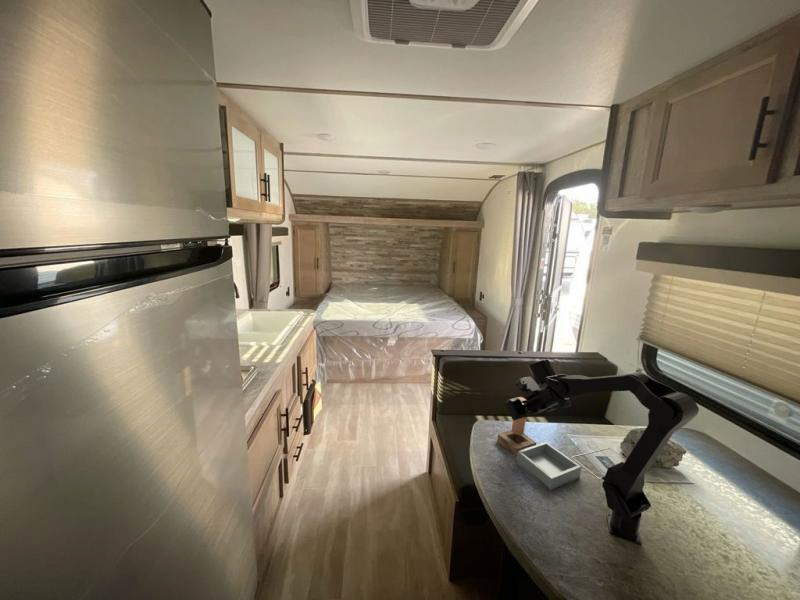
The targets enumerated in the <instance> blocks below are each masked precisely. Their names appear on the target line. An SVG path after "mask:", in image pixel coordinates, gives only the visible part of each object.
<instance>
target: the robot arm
mask: <svg viewBox="0 0 800 600" xmlns="http://www.w3.org/2000/svg"><path fill="white" fill-rule="evenodd" d="M528 369H529V371H530V373H531V375H532V376H524V377H520V379H518V380H516V381H515V382H516V383H515V387H516V388H517V390H518V391H519V392H521V393H523V394H524V395H523V398H525V399H526V400H525V401H522V402H523V404H522V403H521V401H520V399H518V398H516V397H514V398H511V399H510V398H509V399H507V400H506V401H505V405H506V406H505V407H506V408H507V411H508V413H509V415H510V417H511V419H512V421H513V420H514V421H515V420H518V419H522V418H525V417H526V418H528V415H529V414H533V415H534V414H543V413H545V412H546V410H547V412H551V411H554V410H556V409H558V405H559V406H560V408H561V409H565V408H569V407H571V406H572V403H571V400H572V399H571V398H572V397H576V396H579V395H580V396H581V395H584V394H589V393H604V392H605V393H607V392H608V393H609V392H611V393H612V392H630V393H632V395H634V397H635V398H636V399H637V400H638V401H639V402H640V404H641V405H642V406H644V407H645V408H646V409H647V410H648V414H647V421H648V424H647V426H646V427H645V428H646V429H645V431H644V432H643V434H642V435H641V437H640V439H639V440H638V442H637V443H636V445H635V446H634V448H633V450H632V451H631V453H630V454H629V456H628V458H627V457H626V458H627V459H625V461H624V462H623V461H621V462H618V463H615V464H614V465H611V466H609V467H608V468H607V469H606V473H605V475H604V476H602V477H601V478H602V479H601V480H603V481H602V486H601V487H602V488H603V491H604V494H605V495H604V496H605V499H606V505H607V508H608V509H610V510H611V514H609V513H606V520H607V525H608V530H609V533H610V535H611V536H613V537H616V538H619V539H622V540H625V541H628V542H631V543H634V544H636V545H639V546H641V545H642V546H643V541H642V538H641V534H640V531H639V529H640V525H641V520H642V513H643V512H645V511H648V510H649V509H650V508H651V507H652V503H650V501H649V499H648V498H647V496H646V494H645V492H644V491H643V490H644V487H645V484H646V482H645V475H646V474H647V472H648V471H649V469H650V468H651V466H652V463H653V462H654V461H655V459H656V458H657V456H658V455H659V453H660V452H661V450H662V449H663V448H664V446H665V445H666V443H667V442H668V440H669V439H671V437H672V436H673V434H675V433H676V432H677V431H679V430H681V429H682V428H683V427H684V426H686V425H687V424H688V423H689V422H691V421H692V420H693V419H694V418H695V417H696V416H697V415H698V414H699V410H700V409H699V406H698V404H697V402H696V401H695V400H694V398H692V397H691V396H690V395H688V394H686V393H684V392H679V391H677V390H676V389H675V388H673V387H672V386H669V385H667V384H665V383H663V382H660V381H658V380H655V379H653V378H652V377H650V376H649V375H648V374H645V373H643V372H639V371H638V372H633V373H627V374H625V373H624V374H614V375H605V376H603V375H602V376H593V377H591V376H586V375H581V374H580V375H579V374H572V375H568V374H564V373H561V374H559V373H558V374H556V373H555V371H554V369H553V367H552V365H551V363H550V360H549V359H548V358H546V359H542V360H539V361H537V362H535V363H532V364H530V365H528ZM540 386H544V387H542V388H541V387H540ZM526 408H527V409H526Z"/></svg>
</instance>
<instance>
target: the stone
mask: <svg viewBox="0 0 800 600" xmlns="http://www.w3.org/2000/svg"><path fill="white" fill-rule="evenodd" d="M646 428H647V427H637V428H633V429H630V431H629V432H628V433H627V434H626V436H625V437H624V438H623V440H622V442H620V446H619V448H620V450H621V453H623V455H624V457H625V458H628V456H629V454H630V453H631V451H632V450H633V448H634V446H635V445H636V443H637V442H638V440H639V439H640V437H641V435H642V434H643V432H644V431H645V429H646ZM686 454H687V449H685V448H684V446H682V445H680V444H679V443H677V442H676V441H674V440H673V439H671V438H670V439H669V440H668V442H667V443H666V445H665V446H664V448H663V449H662V450H661V452H660V453H659V455H658V456H657V458H656V459H655V461H654V462H653V463H652V465H651V466H652V467H663V468H667V469H670V468H674V467H675V468H676V467H678V466H680V462H682V460H683V457H684V456H685V455H686Z"/></svg>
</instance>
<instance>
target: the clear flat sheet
mask: <svg viewBox="0 0 800 600" xmlns="http://www.w3.org/2000/svg"><path fill="white" fill-rule="evenodd" d="M607 449H608V450H609V449H610V450H612V451H613V452H614V453H616V454H617V455H619V456H620V457H622V458H624V459H625V460H626V459H627V457H626V456H625V455H624V456H623V455H622V454H621V453H619V452H618V451H616V450H615V449H613V448H611V447H605V448H602V449H598V450H594V451H588V452H586V453H585V452H584V453H581V454H576V455H573V456H570V459H572V460H573V461H574V462H576V463H577V464H579V465H580V466H581V467H583V468H584V469H585V470H586V471H588V472H589V473H590V474H592V475H593V476H594V475H595V476H594V477H595V478H597V479H598V480H603V479H602V477H599V476H597V475H596V474H595V473H594V472H592V471H591V470H590V469H589V468H587V467H586V466H584V464H582V463H580V462H579V461H578V460H577V459H575V458H576V457H579V456H584V455H588V453H589V454H593V453H596V451H597V452H602V451H604V450H607ZM592 452H593V453H592Z"/></svg>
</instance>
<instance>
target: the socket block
mask: <svg viewBox="0 0 800 600" xmlns="http://www.w3.org/2000/svg"><path fill="white" fill-rule="evenodd" d="M515 441H517V442H519V443H516V442H515ZM497 443H498V444H500V445H501V446H502V447H504V448H505V449H506V450H507V451H508V452H509V453H511V455H513V456H515V458H517V451H520V450H523V449H526V448H529V447H532V446H535V445H537V442H536V441H535V440H534V439H532V437H529V436H528V435H527V434H526V433H524V434H523V435H517V434H514V433H513V432H512V429H510V430H506V431H504V432H503V431H502V432H499V433H498V434H497Z"/></svg>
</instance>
